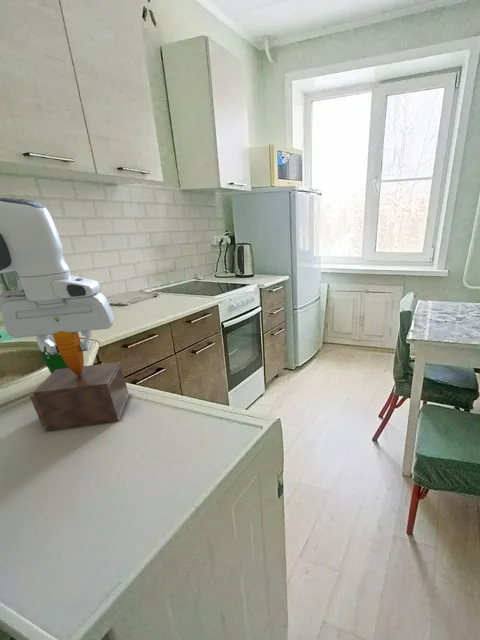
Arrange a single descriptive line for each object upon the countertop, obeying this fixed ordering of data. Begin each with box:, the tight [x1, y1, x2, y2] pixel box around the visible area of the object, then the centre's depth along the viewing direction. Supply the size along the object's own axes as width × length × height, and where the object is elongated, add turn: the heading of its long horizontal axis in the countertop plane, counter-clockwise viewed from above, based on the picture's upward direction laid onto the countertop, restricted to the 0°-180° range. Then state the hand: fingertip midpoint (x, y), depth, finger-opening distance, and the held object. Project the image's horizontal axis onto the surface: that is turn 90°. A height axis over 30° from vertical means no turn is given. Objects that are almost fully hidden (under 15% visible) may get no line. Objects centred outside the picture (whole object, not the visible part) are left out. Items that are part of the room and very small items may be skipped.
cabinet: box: [32, 361, 130, 432], centre depth 82 cm, size 15×13×10 cm
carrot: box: [53, 318, 85, 376], centre depth 77 cm, size 5×5×15 cm
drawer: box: [29, 392, 47, 428], centre depth 82 cm, size 15×11×8 cm
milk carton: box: [35, 334, 69, 375], centre depth 100 cm, size 9×9×20 cm
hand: (71, 351), depth 78 cm, fingers closed on carrot, 5 cm apart
